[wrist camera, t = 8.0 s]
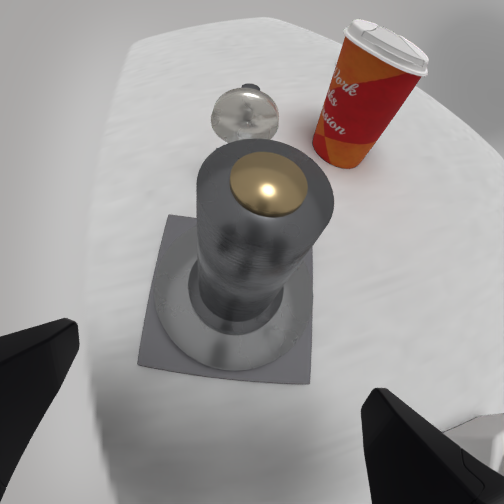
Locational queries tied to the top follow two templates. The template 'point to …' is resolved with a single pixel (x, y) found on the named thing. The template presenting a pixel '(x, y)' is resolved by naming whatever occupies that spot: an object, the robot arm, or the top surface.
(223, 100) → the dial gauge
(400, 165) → the top surface
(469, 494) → the robot arm
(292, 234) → the cylinder with brass cap
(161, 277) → the platter
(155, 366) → the turntable base
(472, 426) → the medicine bottle
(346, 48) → the paper cup
